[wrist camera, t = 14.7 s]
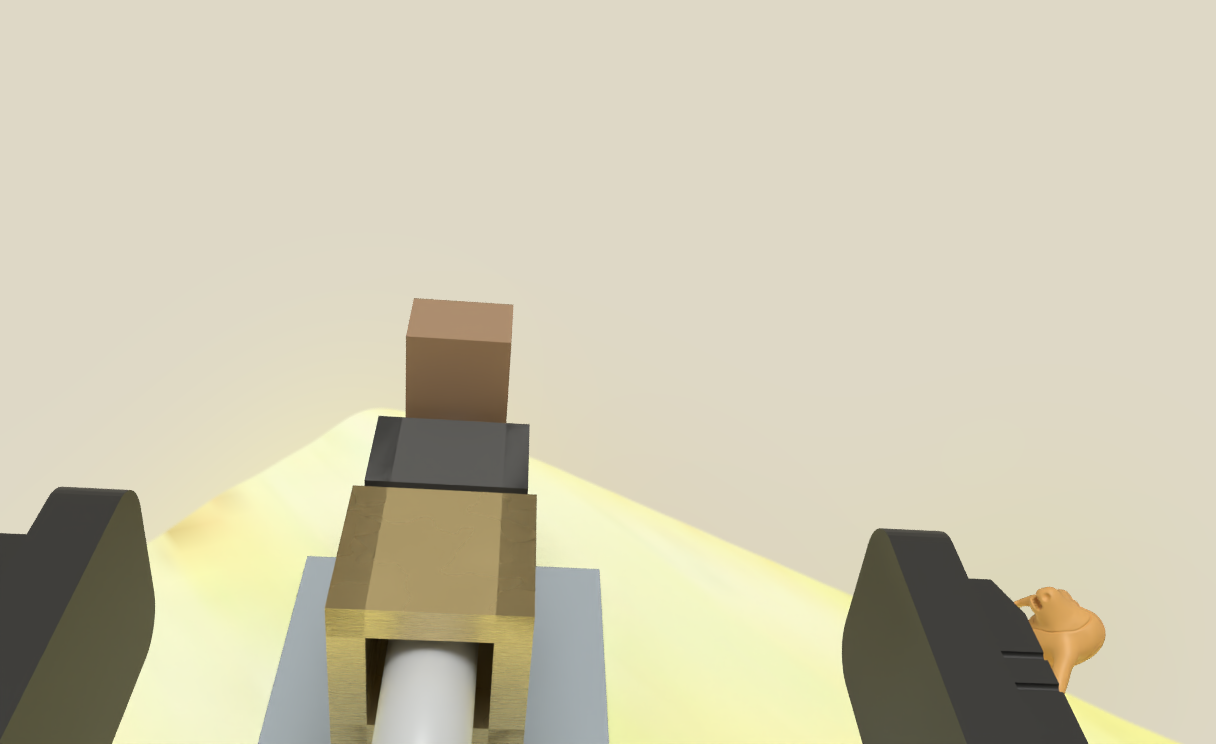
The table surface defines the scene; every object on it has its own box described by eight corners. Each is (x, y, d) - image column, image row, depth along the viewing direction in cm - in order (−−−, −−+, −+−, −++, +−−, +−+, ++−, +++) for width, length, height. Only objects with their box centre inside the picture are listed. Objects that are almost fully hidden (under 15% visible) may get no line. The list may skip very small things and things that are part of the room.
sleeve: (525, 625, 44) (536, 494, 40) (522, 754, 39) (534, 616, 35) (356, 618, 43) (352, 485, 40) (330, 748, 38) (324, 608, 35)
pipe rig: (597, 581, 56) (633, 300, 48) (629, 1182, 34) (705, 860, 26) (308, 568, 55) (292, 278, 46) (147, 1184, 33) (63, 845, 24)
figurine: (888, 701, 51) (959, 493, 45) (1025, 749, 50) (1118, 540, 43) (853, 849, 45) (931, 629, 38) (1010, 911, 43) (1117, 691, 37)
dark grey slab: (520, 538, 47) (529, 424, 44) (518, 606, 44) (527, 488, 41) (379, 531, 47) (378, 416, 44) (366, 599, 44) (364, 480, 40)
